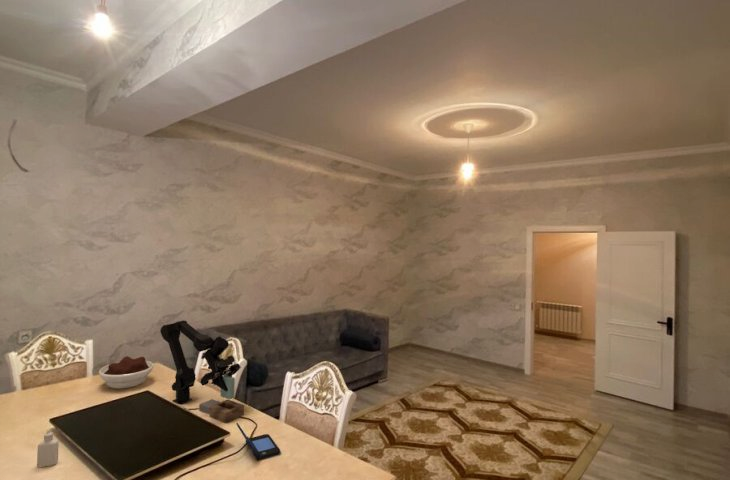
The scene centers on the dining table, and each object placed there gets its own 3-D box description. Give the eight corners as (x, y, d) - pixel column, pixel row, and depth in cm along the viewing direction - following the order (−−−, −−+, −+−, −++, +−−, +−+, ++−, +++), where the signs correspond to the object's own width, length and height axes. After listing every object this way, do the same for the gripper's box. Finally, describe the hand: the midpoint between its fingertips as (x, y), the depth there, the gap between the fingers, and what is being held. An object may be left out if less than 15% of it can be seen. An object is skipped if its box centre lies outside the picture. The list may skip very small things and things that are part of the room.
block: (220, 396, 175) (221, 376, 175) (224, 394, 177) (225, 375, 177) (229, 399, 172) (230, 379, 172) (234, 397, 174) (234, 377, 174)
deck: (199, 410, 178) (199, 404, 178) (211, 405, 184) (212, 399, 184) (210, 415, 174) (210, 408, 174) (223, 409, 180) (223, 403, 180)
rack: (209, 416, 172) (209, 406, 172) (227, 408, 181) (227, 399, 181) (226, 423, 167) (226, 413, 167) (243, 414, 176) (244, 404, 176)
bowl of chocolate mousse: (90, 386, 203) (91, 357, 203) (139, 373, 223) (140, 347, 223) (110, 398, 188) (111, 367, 188) (161, 383, 209) (162, 356, 209)
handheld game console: (281, 455, 145) (282, 430, 145) (245, 465, 137) (246, 439, 137) (268, 436, 158) (268, 413, 158) (234, 444, 151) (235, 421, 151)
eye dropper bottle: (47, 459, 136) (48, 425, 136) (60, 462, 135) (61, 428, 135) (34, 466, 132) (35, 431, 132) (47, 469, 131) (48, 434, 131)
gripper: (205, 355, 168) (221, 386, 163) (238, 346, 184) (254, 374, 179) (193, 370, 172) (208, 400, 166) (227, 359, 188) (242, 387, 183)
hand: (229, 389), depth 173 cm, fingers closed on block, 2 cm apart
